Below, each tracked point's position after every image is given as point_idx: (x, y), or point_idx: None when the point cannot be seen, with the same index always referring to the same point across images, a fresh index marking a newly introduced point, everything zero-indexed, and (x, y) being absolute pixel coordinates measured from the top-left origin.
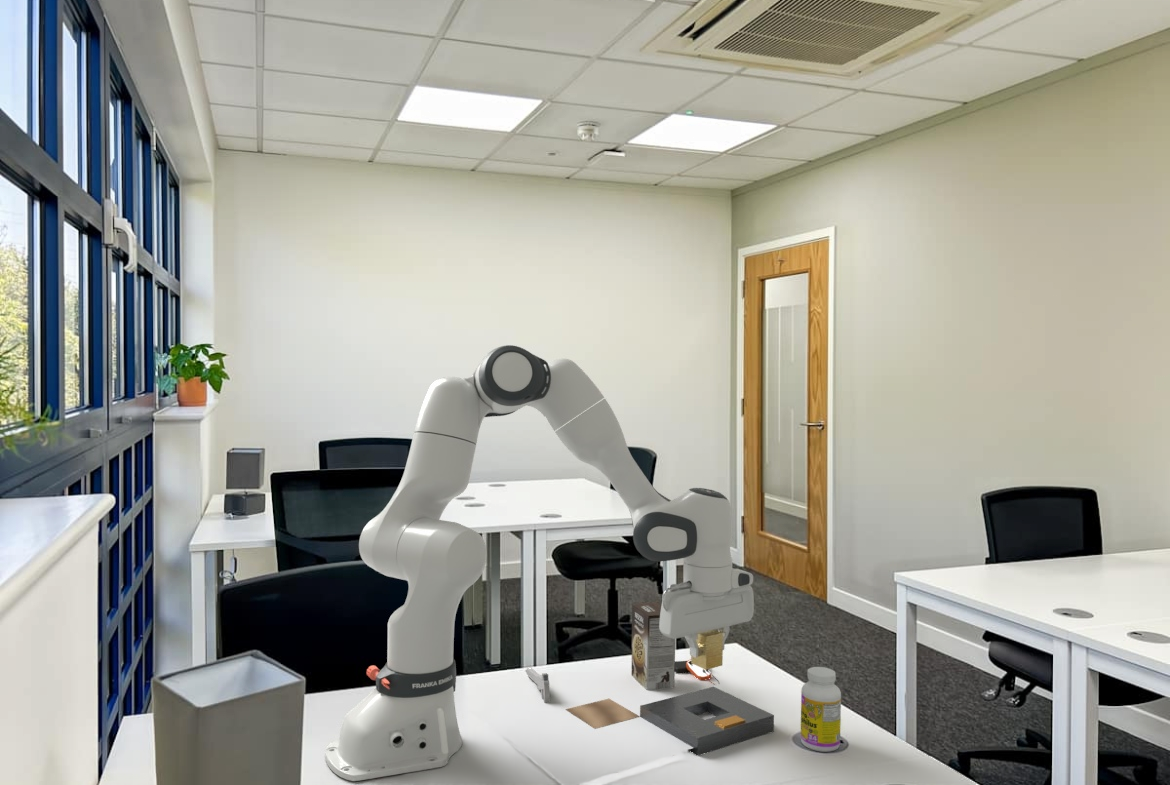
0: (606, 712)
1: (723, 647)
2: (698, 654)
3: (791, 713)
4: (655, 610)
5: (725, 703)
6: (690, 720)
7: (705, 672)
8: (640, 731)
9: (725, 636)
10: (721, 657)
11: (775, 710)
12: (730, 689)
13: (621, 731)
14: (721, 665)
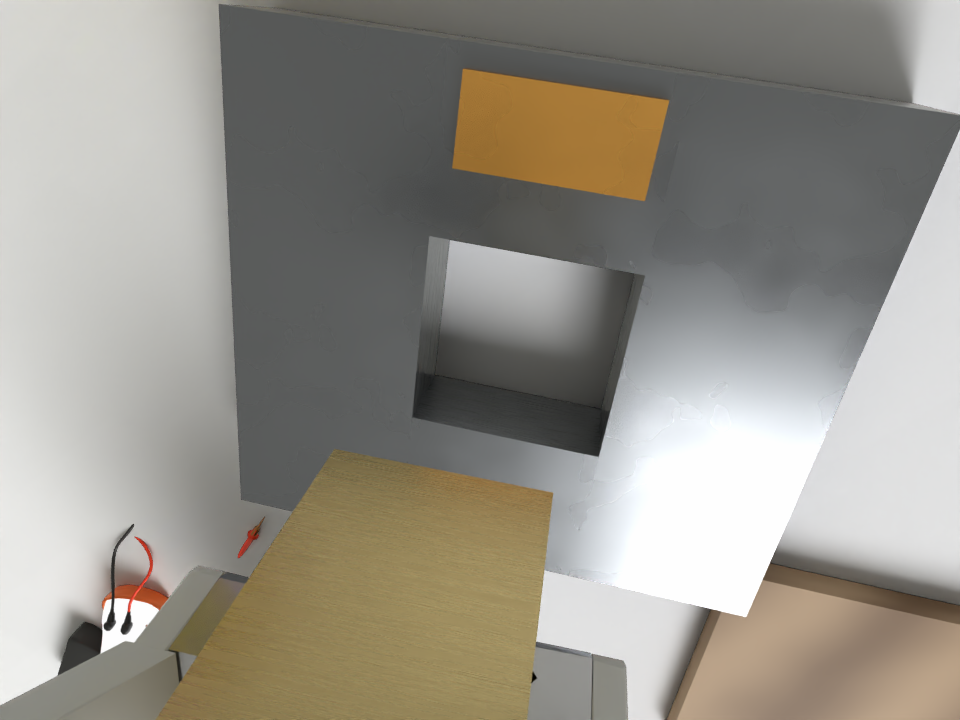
0: (811, 689)
1: (193, 587)
2: (591, 671)
3: (23, 105)
4: None
5: (350, 333)
6: (724, 328)
7: (127, 616)
8: (828, 499)
9: (77, 691)
10: (315, 502)
11: (77, 190)
12: (118, 474)
13: (894, 556)
14: (345, 453)
